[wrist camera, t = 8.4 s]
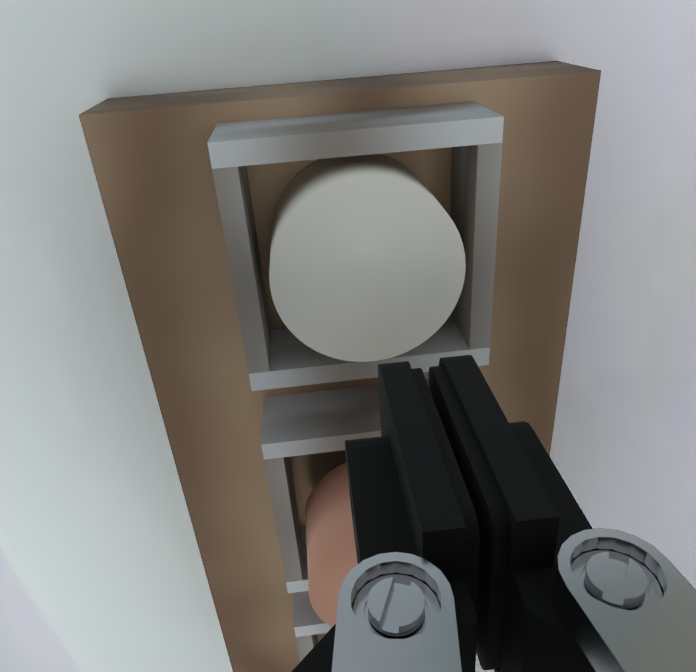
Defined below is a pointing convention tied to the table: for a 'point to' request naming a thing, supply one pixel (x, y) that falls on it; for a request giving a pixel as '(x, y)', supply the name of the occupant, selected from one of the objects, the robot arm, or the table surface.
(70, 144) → the table surface
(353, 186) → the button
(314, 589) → the middle button
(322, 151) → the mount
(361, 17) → the table surface
